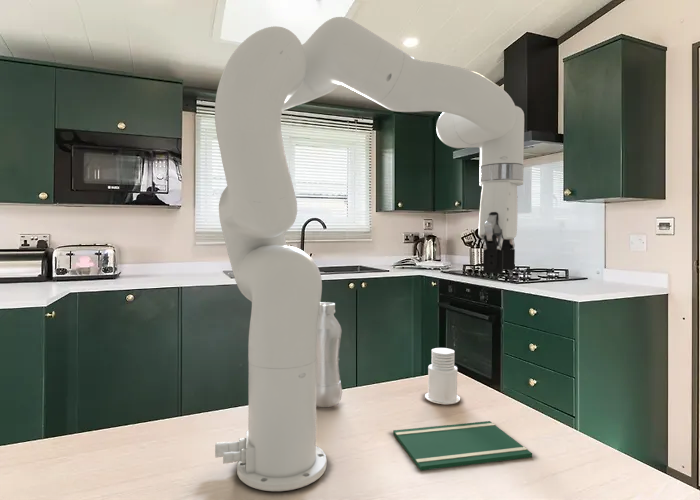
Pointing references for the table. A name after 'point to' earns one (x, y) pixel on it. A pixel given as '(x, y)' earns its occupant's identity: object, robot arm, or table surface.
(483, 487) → the table surface
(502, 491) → the table surface
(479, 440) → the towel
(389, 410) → the table surface
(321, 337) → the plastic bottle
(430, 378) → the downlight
